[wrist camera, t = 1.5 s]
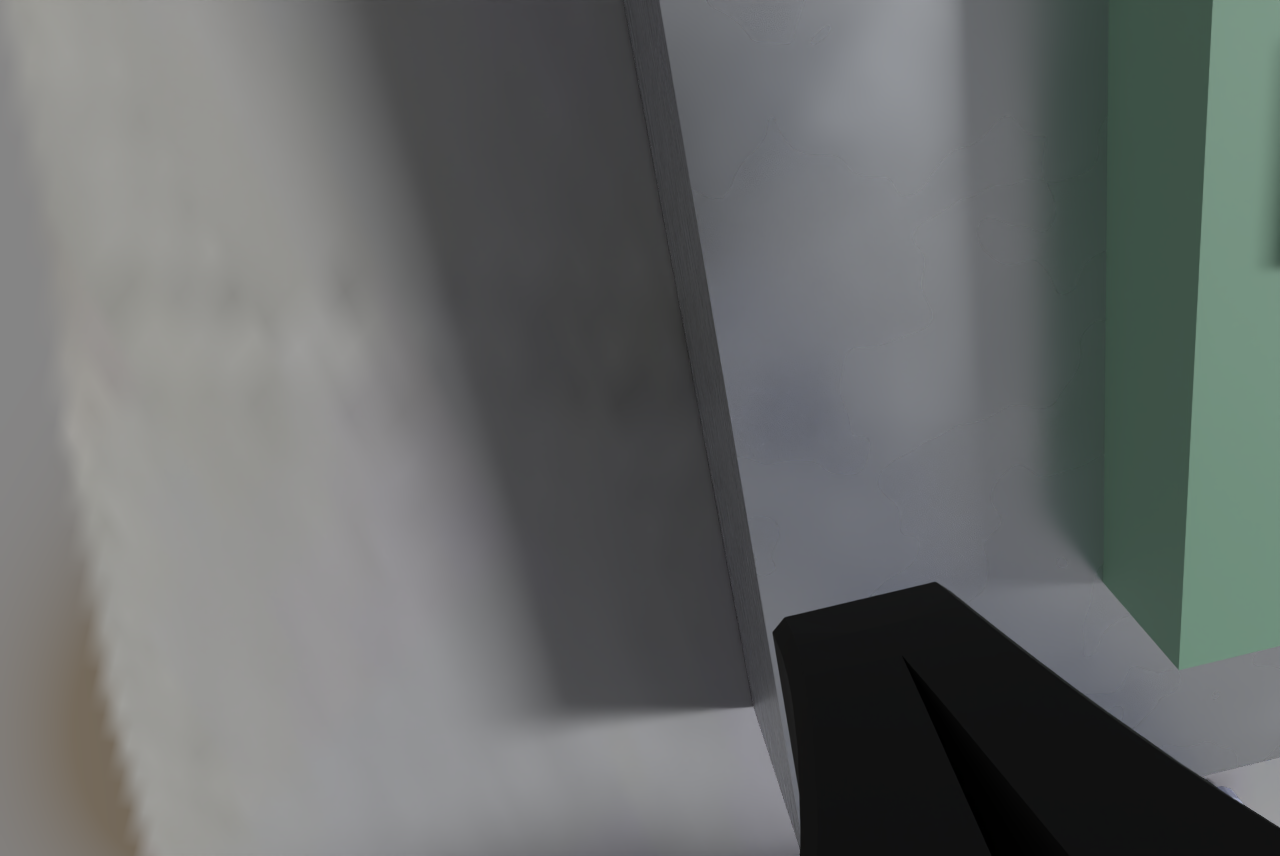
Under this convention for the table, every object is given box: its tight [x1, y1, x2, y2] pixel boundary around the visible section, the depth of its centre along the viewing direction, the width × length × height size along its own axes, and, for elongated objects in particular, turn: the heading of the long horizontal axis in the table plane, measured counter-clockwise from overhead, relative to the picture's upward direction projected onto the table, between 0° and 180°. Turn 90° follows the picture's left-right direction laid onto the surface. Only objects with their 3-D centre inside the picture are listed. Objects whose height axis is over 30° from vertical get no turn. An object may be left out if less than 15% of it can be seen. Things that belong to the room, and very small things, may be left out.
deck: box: [623, 0, 1280, 848], centre depth 16 cm, size 18×14×4 cm
